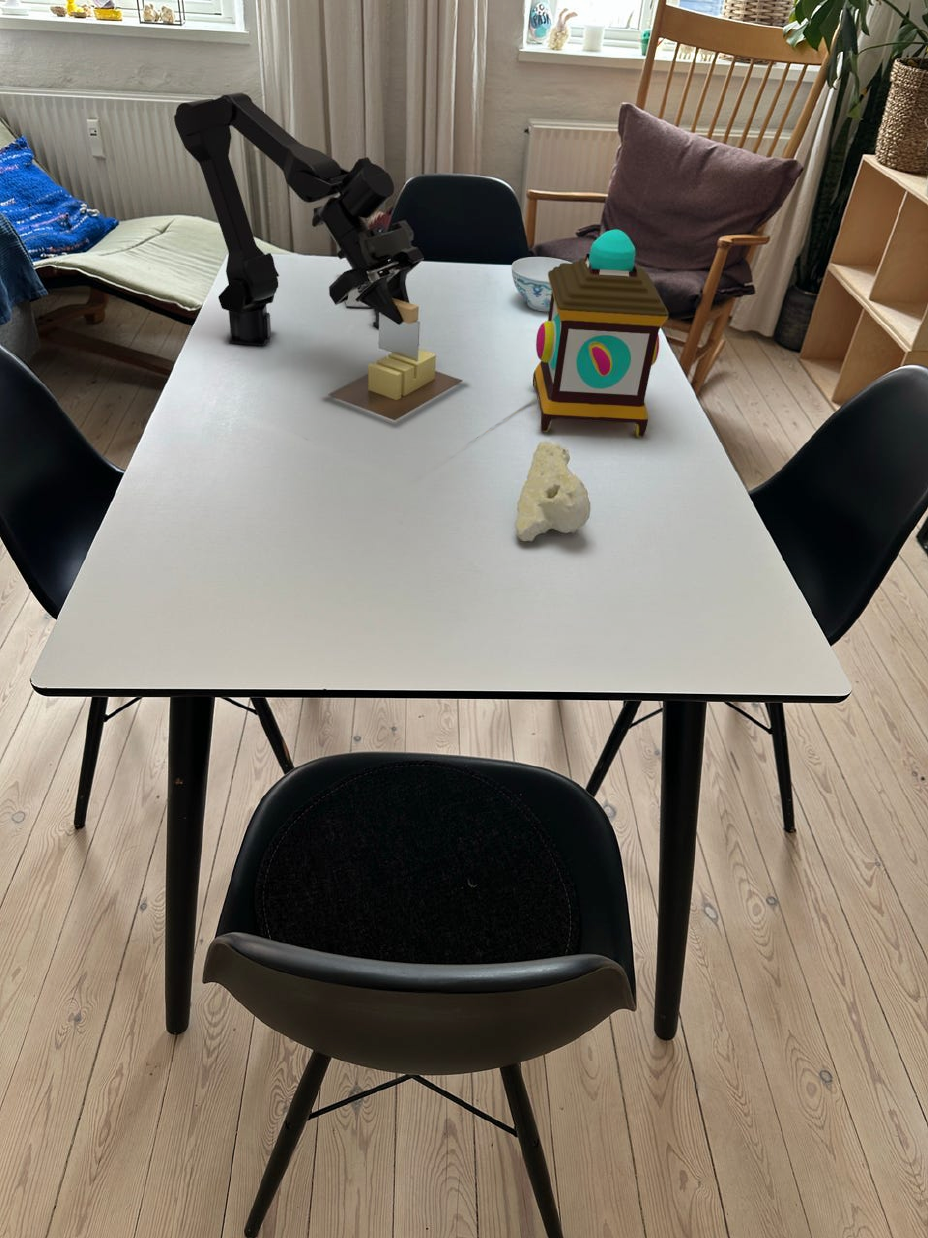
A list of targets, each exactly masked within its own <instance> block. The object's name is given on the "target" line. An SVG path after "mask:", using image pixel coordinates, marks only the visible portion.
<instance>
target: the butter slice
mask: <svg viewBox="0 0 928 1238" xmlns="http://www.w3.org/2000/svg"><path fill="white" fill-rule="evenodd" d="M368 374H369V385H368V390H370V391H373V392H376V393H378V394H381V395H384V396H386V397H389V398H392V399H394V400H398V399H400V398H401V380H402V373H400V372H398V371H395V370H392V369H389V368H386V367H384V366H381V365H378V364H376V362H371V363H369V364H368Z"/></svg>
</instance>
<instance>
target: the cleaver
mask: <svg viewBox="0 0 928 1238" xmlns="http://www.w3.org/2000/svg"><path fill="white" fill-rule="evenodd" d="M341 275H342V274H340V275H339V277H340V276H341ZM359 295H360V294H359V293H358V289H354V290H352V291H350V293H349V294H348V300H347V301H345V302H344V303H345V305H346V307H350V308H370V307H369V306H368V305H366V304H364V303H362V302H360V301H359V302H357V301H356V300H355V299H356V298H357V297H358V296H359ZM374 313H375V317H376V318H375V321H373V323H372V324H373V326H374V327H376V328H378V329H379V312H378V311H376V310H375V309H374Z"/></svg>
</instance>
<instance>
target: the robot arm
mask: <svg viewBox="0 0 928 1238" xmlns="http://www.w3.org/2000/svg"><path fill="white" fill-rule="evenodd" d="M173 122H174V126H175V129H176V131H177V133H178V136H179V138H180V140H181V142H182V144H183V147H184V149H185V150H186V151H187V152H188V153H189V155H191V156H192V157H193V158H194V159H195V160H196V162H197V163H198V164H199V166H200V169H201V172H202V175H203V179H204V181H205V184H206V187H207V190H208V193H209V196H210V199H211V203H212V205H213V208H214V212H215V215H216V218H217V221H218V224H219V227H220V230H221V233H222V236H223V239H224V242H225V246H226V248H227V253H228V255H227V261H226V267H225V274H226V278H227V279H226V280H227V283H228V285H227V286H226V287H225V288H224V290H222V291H221V293H220V294H219V295H218V301H219V304H220V307H221V309H223V310H225V311H228V319H229V329H230V337H229V338H228V343H229V344H237V345H248V346H256V347H257V346H259V347H263V346H265V344H266V342H267V341H268V340H269V339H270V336H271V335H272V327H271V324H272V323H271V314H270V312H268V310H267V305H269V304H272V303H274V298H275V294H276V293H277V290H278V288H279V279H278V277H280V274H279V272H278V270H277V269H276V265H275V261H274V257H273V255H272V253H270V252H268V253H266V254H265V252H264V251H262V249H261V248H259V246H258V245H257V243H256V239H255V237H254V236H255V235H254V234H253V230H252V227H251V224H250V222H249V218H248V214H247V211H246V207H245V205H244V204H245V203H244V201H243V198H242V195H241V192H240V189H239V186H238V183H237V179H236V176H235V172H234V170H233V167H232V164H231V160H230V150H231V143H232V131H231V127H232V128H233V129H235V130H236V131H237V132H238V133H239V134H241V136H243V137H244V138H245V139H246V140H247V141H249V143H251V144H252V145H253V146H254V147H256V149H258V150H259V151H260V152H261V153H262V154H264V155H265V156H266V157H267V158H268V159H269V160H271V162H273V163H274V164H275V165H276V166H277V167H278V168H279V169H280V170H281V171H282V173H283V176H284V180H285V182H286V184H287V186H289V188H290V189H291V190H292V191H293V192H294V193H295V195H296V196H297V197H298V198H299V199H300V200H301V201H303V202H304V203H307V204H309V203H310V204H312V203H314V202H318V201H323V200H326V199H328V200H327V202H326V203H324V205H319V206H317V207H314V208H313V215H312V216H313V217H312V219H311V225H312V227H313V228H317V227H319V226H320V227H321V226H322V225H324V226H325V227H326V229H327V231H328V232H329V234H330V236H331V237H332V239H333V240H334V242H335V243H336V245H337V247H338V248H339V250H338V252H337V253H336V256H337V257H338V259H339V260H343V259H345V260H346V261H347V263H348V264H349V266H350V267H351V269H348V270H345V271H344V272H342V273H341V274H340V275H341V276H340V275H339V276H338V277H337V278H336V279H335V280H334V281H333V283H331V284H330V285H329V286H328V295H329V297H330V298H331V301H332V302H333V304H334V305H335V306H338V305H340V304H342V303H345V301H347V300H348V294H349V293H350V291H352V290H354V289H358V293H359V294H360V295H359V296H358V297H357V298H356V299H355V300H356V301H357V302H359V301H360V302H362V303H364V304H366V305H368V306H369V307H368V308H371V309H373V310H374V311H375V310H376V311H378V312H380V313H381V314H383V315H384V316H386V317H387V318H389V319H390V320H392V321H393V322H395V323H396V324H398V325H400V324H402V323H403V318H402V316H401V314H400V312H399V310H398V308H397V306H396V305H395V303H394V301H393V299H392V298H395V299H398V300H401V301H404V302H407V303H410V299H409V298H410V297H409V295H408V289H407V284H406V281H407V276H408V274H409V273H410V272H412V271H413V270H414V269H415V268H416V267H417V266H418V265H420V263H421V262H422V261H424V260H425V257H424V255H423V254H422V252H421V250H420V248H418V247H417V246H413V245H412V241H413V240H414V238H415V237H414V236H415V233H414V230H412V227H411V225H409V223H408V222H407V220H406V219H404V220H399V221H398V222H395V223H392V225H391V231H388V232H385V233H381V231H380V229H378V228H376V227H372V228H370V226H369V225H368V223H367V222H366V221H365V219H369V218H371V217H372V216H373V215H375V213H376V212H377V211H378V210H379V209H381V207H382V206H383V205H384V204H385V203H386V202H387V201H388V200H389V199H390V198H391V197H392V196H393V195H394V193H395V185H394V181H393V179H392V177H391V175H390V174H389V173H388V172H386V171H385V169H383V168H382V167H381V166H380V165H378V164H376V163H374V162H372V160H371V159H370V158H369V157H368V156H364V157H361V158H358V160H357V161H356V162H355V163H354V165H353V167H352V168H351V170H347V169H346V168H343V167H341V166H340V164H339V163H338V162H337V160H336V159H334V158H332V157H331V156H329V155H327V154H326V153H324V152H322V151H320V150H318V149H315V148H313V147H310V146H306V145H304V144H302V143H300V142H299V141H298V140H297V139H296V138H294V137H293V136H292V135H291V134H290V133H289V132H288V131H286V130H285V129H284V128H283V127H282V126H281V125H280V124H279V123H278V122H276V121H275V120H274V119H273V118H271V117H270V115H268V114H266V112H264V111H263V110H262V109H261V107H258V106H257V105H256V103H254V102H253V100H252V98H251V97H250V96H249V95H248V94H246V93H243V92H234V93H233V92H232V93H226V94H222V95H220V97H217V98H215V99H214V98H206V99H200V100H194V101H187V102H181V103H180V104H178V106H177V107H176V110H175V114H174V115H173ZM337 195H339V196H338V197H336V196H337ZM329 198H330V199H329Z"/></svg>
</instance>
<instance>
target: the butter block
mask: <svg viewBox="0 0 928 1238" xmlns="http://www.w3.org/2000/svg"><path fill="white" fill-rule="evenodd" d="M436 361H437V354H434V353H432V352H429V351H426V350H423V349H420V348H419V353H418V361H414V360H412V359H409V358H406V357H403V356H400V355H397V354H394V353H391V352H390V354H388V356H384V357H382V358H379V359H378V360H376V362H375V364H378V365H381V366H384V367H386V368H389V369H392V370H395V371H398V372H400V373H402V380H401V395H402V396H405V395H407V394H409V393H411V392H413V391H414V390H416V389H418V388H420V387H422V386H423V385H425V384H427V383H429V382H431V381H432V380H434V379H435V371H436Z"/></svg>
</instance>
